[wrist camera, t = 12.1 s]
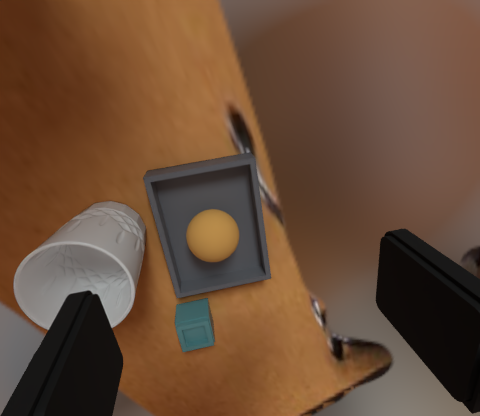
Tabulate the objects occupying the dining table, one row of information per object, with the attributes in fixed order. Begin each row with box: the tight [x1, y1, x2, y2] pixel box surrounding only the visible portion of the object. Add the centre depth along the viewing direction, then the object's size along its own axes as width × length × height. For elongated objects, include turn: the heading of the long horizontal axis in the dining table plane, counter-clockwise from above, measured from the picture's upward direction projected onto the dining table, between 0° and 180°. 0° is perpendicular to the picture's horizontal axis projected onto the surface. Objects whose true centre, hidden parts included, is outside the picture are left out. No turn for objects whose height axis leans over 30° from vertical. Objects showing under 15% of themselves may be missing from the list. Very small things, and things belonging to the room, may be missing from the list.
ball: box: [186, 209, 239, 262], centre depth 29 cm, size 5×5×5 cm
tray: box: [143, 153, 271, 298], centre depth 30 cm, size 13×10×3 cm
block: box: [175, 298, 215, 352], centre depth 34 cm, size 4×4×4 cm
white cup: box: [13, 201, 146, 330], centre depth 26 cm, size 8×8×10 cm
